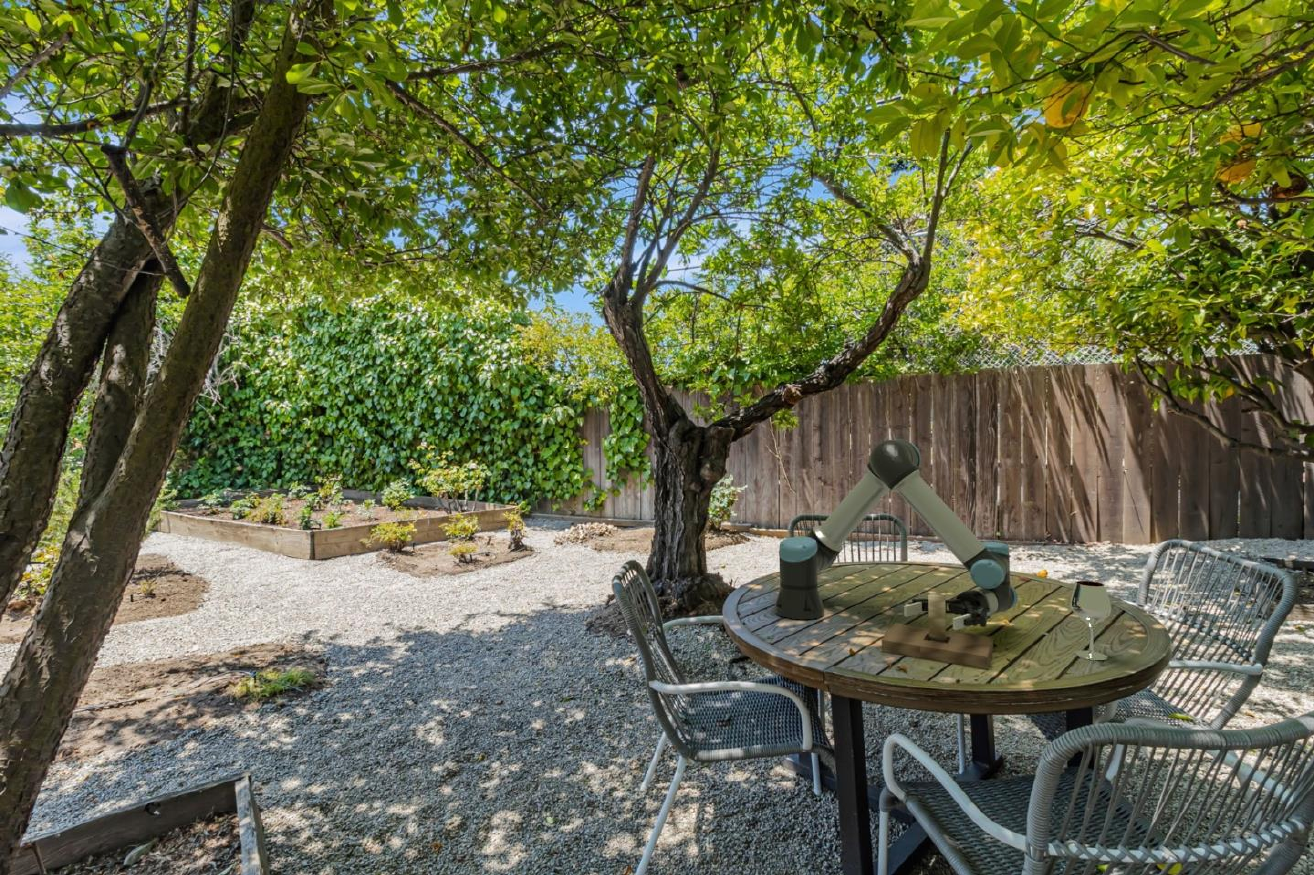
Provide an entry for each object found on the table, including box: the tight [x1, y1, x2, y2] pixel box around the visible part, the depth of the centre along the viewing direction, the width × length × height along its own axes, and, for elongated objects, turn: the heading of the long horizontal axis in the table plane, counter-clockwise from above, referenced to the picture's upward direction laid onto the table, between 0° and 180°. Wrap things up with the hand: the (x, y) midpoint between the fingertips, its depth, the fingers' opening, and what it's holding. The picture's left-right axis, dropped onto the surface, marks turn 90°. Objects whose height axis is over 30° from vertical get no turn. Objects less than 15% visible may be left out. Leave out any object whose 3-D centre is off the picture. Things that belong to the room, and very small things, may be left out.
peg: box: [927, 593, 947, 643], centre depth 153 cm, size 4×4×14 cm
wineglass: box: [1070, 580, 1112, 661], centre depth 146 cm, size 8×8×18 cm
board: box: [881, 622, 994, 670], centre depth 153 cm, size 24×16×3 cm, turn 57°
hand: (928, 617), depth 151 cm, fingers open, 13 cm apart
